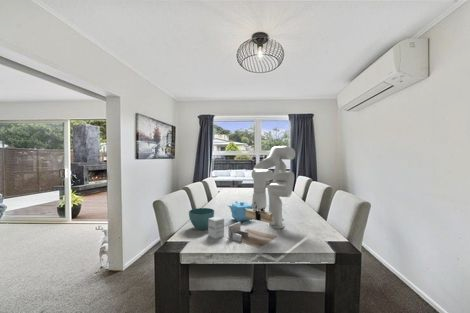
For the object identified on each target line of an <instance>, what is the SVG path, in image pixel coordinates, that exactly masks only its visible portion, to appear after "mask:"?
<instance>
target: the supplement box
mask: <svg viewBox="0 0 470 313" xmlns="http://www.w3.org/2000/svg"><path fill="white" fill-rule="evenodd" d="M207 229H208V234H207V236H208V237H210V238H213V239H215V240H217V239H220V238H222V237H225V218H224V217H220V216H214V217H212V218H209V219H208V228H207Z"/></svg>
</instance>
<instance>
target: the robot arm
mask: <svg viewBox="0 0 470 313" xmlns="http://www.w3.org/2000/svg"><path fill="white" fill-rule="evenodd" d="M295 158H296V151H295V149H294V148H292V147H290V146H287V145H281V146H280V145H278V146H273V147H271V149H270V150H269V152H268V153H267V156H266V158H264V159H261V161H259V162H257V163H256V164H255V165H254V167H253V169H252V171H251V177H252V180H253V194H252V201H251V202H252V203H251V205H252V208H253V211H254V212H255V214H256V220H255V221H258V220H260V211H264V212H266V208H267V196H268V212H269V213H273V221H272V222H271V223H267V222H266V226H267V227H271V228H275V229H278V230H281V229H284V228H285V224H284V223H283V222H284V221H285V219H284V218H283V201H282V199H281V198H290V197H291V196H292V193H293V189H294V183H295V173H294V171H293V172H292V171H291V170H287V165H286V163H285V162H284V161H283V160H287V161H288V160H294V159H295ZM273 167H274V169H273V170H274V171H272V170H271V168H273ZM270 181H273V182H271V183H269V184H268V185H266V182H270ZM266 187H267V190H266ZM266 191H267V192H266ZM267 193H268V194H267ZM280 197H281V198H280ZM257 210H258V211H257Z"/></svg>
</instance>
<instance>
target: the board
mask: <svg viewBox="0 0 470 313" xmlns="http://www.w3.org/2000/svg"><path fill="white" fill-rule="evenodd" d="M243 231H246V232H248V236H249V238H245V237H242V241H241V242H238V241H235V240H233V241H234V242H238V243H241V244H243V245H244V244H245V245H248V246H250V247H255V248H257V249H260V248H262V247H263V246H264V245H267V244H268V243H269V242H271V241H273V240H274V239H276V238H277V237H278V235H273V234H269V233H266V232H262V231H258V230H254V229H250V228H247V229H245V230H243ZM226 239H228V237H227V238H226ZM228 240H231V239H228ZM231 241H232V240H231Z"/></svg>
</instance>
